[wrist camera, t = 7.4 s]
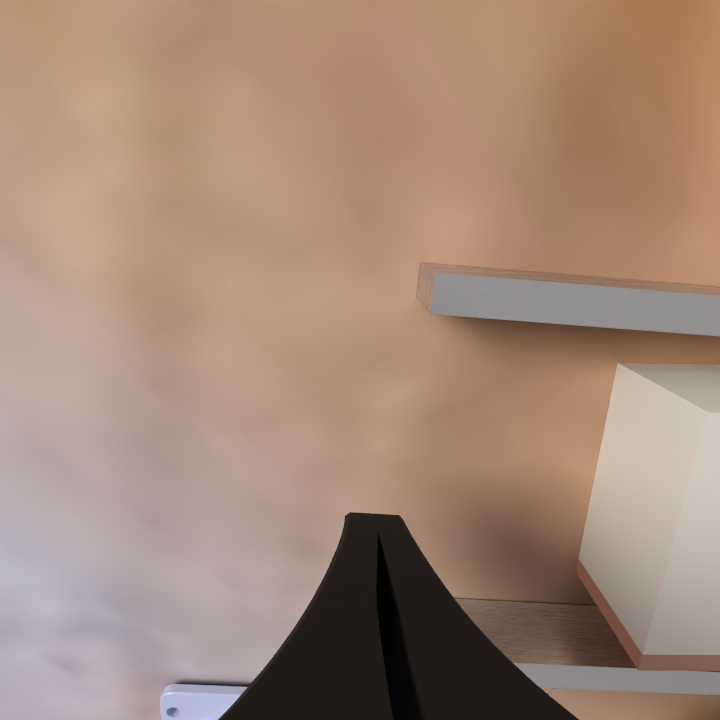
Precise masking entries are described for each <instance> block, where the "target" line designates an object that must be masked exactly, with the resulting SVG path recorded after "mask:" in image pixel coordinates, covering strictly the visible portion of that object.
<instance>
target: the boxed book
mask: <svg viewBox="0 0 720 720" xmlns="http://www.w3.org/2000/svg"><path fill="white" fill-rule="evenodd" d="M576 573H577V575H578V576H579V578H580V579H581V581H582V583H583V584H584V586H585V587H586V589H587V590H588V592H589V594H590V595H591V597H592V598H593V600H594V601H595V603H596V605H597V606H598V608H599V609H600V611H601V612H602V614H603V616H604V617H605V619H606V620H607V622H608V624H609V625H610V627H611V628H612V630H613V631H614V633H615V635H616V636H617V638H618V639H619V641H620V642H621V644H622V646H623V647H624V649H625V650H626V652H627V654H628V655H629V657H630V658H631V660H632V661H633V663H634V665H635V666H636V668H637V669H638V671H720V365H699V364H643V363H618V365H617V370H616V375H615V380H614V385H613V390H612V395H611V399H610V404H609V409H608V414H607V419H606V424H605V429H604V434H603V439H602V444H601V449H600V454H599V459H598V464H597V469H596V474H595V479H594V484H593V489H592V494H591V499H590V504H589V509H588V514H587V519H586V524H585V529H584V534H583V538H582V543H581V548H580V553H579V558H578V563H577V568H576Z"/></svg>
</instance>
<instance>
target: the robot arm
mask: <svg viewBox="0 0 720 720" xmlns="http://www.w3.org/2000/svg"><path fill="white" fill-rule="evenodd" d="M160 710H161V720H579V719H577V718H576V717H575V716H574V715H572V714H571V713H570V712H569V711H567V710H566V709H565V708H564V707H563V706H561V705H560V704H559V703H558V702H556V701H555V700H554V699H553V698H551V697H550V696H549V695H548V694H547V693H546V692H544V691H543V690H542V689H541V688H540V687H539V686H537V685H536V684H535V683H534V682H533V681H532V680H531V679H530V678H529V677H528V676H526V675H525V674H524V673H523V672H522V671H521V670H520V669H519V668H518V667H517V666H516V665H515V664H514V663H512V662H511V661H510V660H509V659H508V658H507V657H506V656H505V655H504V654H503V653H502V652H501V651H500V650H499V649H498V648H497V647H496V646H495V645H494V644H493V643H492V642H491V641H490V640H489V639H488V638H487V636H486V635H485V634H484V633H483V632H482V631H481V630H480V629H479V628H478V627H477V625H476V624H475V623H474V622H473V621H472V620H471V618H470V617H469V616H468V615H467V614H466V612H465V611H464V610H463V609H462V608H461V606H460V605H459V604H458V602H457V601H456V600H455V599H454V597H453V596H452V595H451V594H450V592H449V591H448V590H447V588H446V587H445V585H444V584H443V583H442V581H441V580H440V579H439V577H438V576H437V574H436V573H435V571H434V570H433V568H432V567H431V565H430V564H429V563H428V561H427V560H426V558H425V556H424V555H423V553H422V552H421V550H420V549H419V547H418V545H417V544H416V542H415V540H414V539H413V537H412V535H411V534H410V532H409V530H408V528H407V526H406V525H405V523H404V521H403V519H402V518H401V517H400V516H399V515H386V514H369V513H351V512H350V513H349V514H347V515H346V516H345V522H344V528H343V532H342V535H341V538H340V541H339V544H338V547H337V550H336V552H335V554H334V556H333V559H332V561H331V563H330V566H329V568H328V570H327V572H326V574H325V576H324V578H323V580H322V582H321V584H320V586H319V587H318V589H317V591H316V593H315V595H314V597H313V599H312V600H311V602H310V604H309V605H308V607H307V609H306V610H305V612H304V614H303V615H302V617H301V618H300V620H299V621H298V623H297V624H296V626H295V627H294V629H293V630H292V632H291V633H290V635H289V636H288V637H287V639H286V640H285V641H284V643H283V644H282V646H281V647H280V648H279V650H278V651H277V652H276V654H275V655H274V656H273V658H272V659H271V660H270V661H269V663H268V664H267V665H266V667H265V668H264V669H263V670H262V671H261V673H260V674H259V675H258V676H257V677H256V678H255V679H254V681H253V682H252V683H251V684H250V685H249V686H248V687H240V686H216V685H191V684H171V685H169V686H167V687H166V688H165V689H164V690H163V693H162V695H161V698H160Z"/></svg>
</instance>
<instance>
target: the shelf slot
mask: <svg viewBox="0 0 720 720" xmlns="http://www.w3.org/2000/svg"><path fill="white" fill-rule="evenodd" d="M416 297H417V298H418V300H419V301H420V302H421V303H422V304H423V306H424V307H425V308H426V309H427V310H428V312H429V313H430V314H436V315H449V316H462V317H475V318H488V319H501V320H514V321H527V322H540V323H553V324H566V325H579V326H592V327H605V328H618V329H631V330H644V331H657V332H670V333H682V334H695V335H708V336H720V287H712V286H700V285H688V284H676V283H663V282H651V281H639V280H627V279H614V278H602V277H590V276H578V275H566V274H553V273H541V272H529V271H517V270H505V269H492V268H480V267H468V266H456V265H443V264H431V263H420V271H419V279H418V288H417V296H416ZM455 600H456V601H457V602H458V604H459V605H460V606H461V608H462V609H463V610H464V611H465V612H466V614H467V615H468V616H469V617H470V618H471V620H472V621H473V622H474V623H475V624H476V625H477V627H478V628H479V629H480V630H481V631H482V632H483V633H484V634H485V635H486V636H487V638H488V639H489V640H490V641H491V642H492V643H493V644H494V645H495V646H496V647H497V648H498V649H499V650H500V651H501V652H502V653H503V654H504V655H505V656H506V657H507V658H508V659H509V660H510V661H511V662H512V663H514V664H515V665H516V666H517V667H518V668H519V669H520V670H521V671H522V672H523V673H524V674H525V675H526V676H528V677H529V678H530V679H531V680H532V681H533V682H534V683H535V684H536V685H537V686H539V687H540V688H559V689H583V690H606V691H630V692H654V693H678V694H701V695H720V671H638V669H637V668H636V666H635V665H634V663H633V661H632V660H631V658H630V657H629V655H628V654H627V652H626V650H625V649H624V647H623V646H622V644H621V642H620V641H619V639H618V638H617V636H616V635H615V633H614V631H613V630H612V628H611V627H610V625H609V624H608V622H607V620H606V619H605V617H604V616H603V614H602V612H601V611H600V609H599V608H598V606H593V605H573V604H553V603H533V602H513V601H494V600H474V599H455Z"/></svg>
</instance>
